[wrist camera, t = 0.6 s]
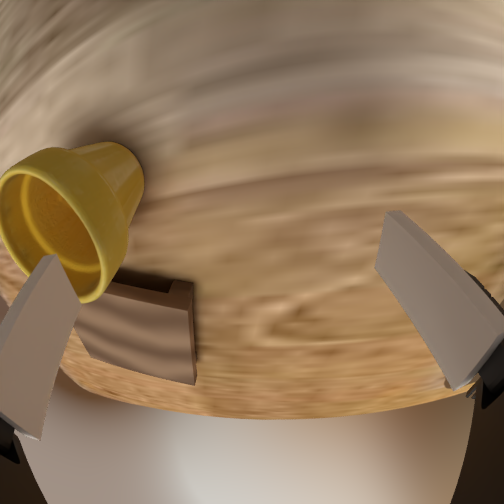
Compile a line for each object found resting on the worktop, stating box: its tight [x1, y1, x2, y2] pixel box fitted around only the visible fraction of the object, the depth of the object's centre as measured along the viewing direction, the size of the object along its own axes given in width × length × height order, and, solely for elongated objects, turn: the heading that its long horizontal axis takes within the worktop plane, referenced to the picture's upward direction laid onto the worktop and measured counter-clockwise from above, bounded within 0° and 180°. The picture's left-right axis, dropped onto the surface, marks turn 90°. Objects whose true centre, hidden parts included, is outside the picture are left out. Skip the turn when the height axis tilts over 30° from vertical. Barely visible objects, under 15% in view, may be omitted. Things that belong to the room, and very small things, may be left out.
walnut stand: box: [73, 280, 197, 386], centre depth 30 cm, size 16×16×4 cm
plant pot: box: [0, 142, 144, 304], centre depth 17 cm, size 10×10×10 cm
